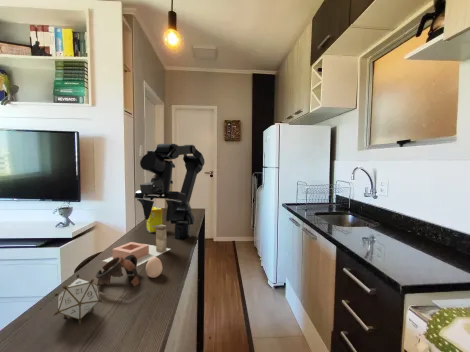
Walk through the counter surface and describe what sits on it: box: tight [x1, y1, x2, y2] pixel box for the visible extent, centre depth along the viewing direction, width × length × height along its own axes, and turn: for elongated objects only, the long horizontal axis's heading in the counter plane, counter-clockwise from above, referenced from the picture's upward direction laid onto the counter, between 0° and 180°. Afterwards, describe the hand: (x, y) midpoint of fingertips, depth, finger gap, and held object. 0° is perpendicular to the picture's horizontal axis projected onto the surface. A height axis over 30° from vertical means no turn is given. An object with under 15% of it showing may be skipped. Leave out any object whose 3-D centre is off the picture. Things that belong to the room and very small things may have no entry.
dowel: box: [155, 224, 167, 253], centre depth 87 cm, size 3×3×9 cm
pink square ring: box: [111, 241, 150, 259], centre depth 82 cm, size 8×8×3 cm
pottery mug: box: [95, 255, 141, 287], centre depth 65 cm, size 12×10×8 cm
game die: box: [52, 273, 104, 325], centre depth 51 cm, size 9×8×10 cm
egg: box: [145, 256, 163, 279], centre depth 68 cm, size 4×4×6 cm
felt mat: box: [102, 243, 171, 267], centre depth 84 cm, size 18×13×1 cm
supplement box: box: [146, 206, 163, 234], centre depth 112 cm, size 6×6×11 cm
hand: (156, 220), depth 85 cm, fingers open, 9 cm apart
